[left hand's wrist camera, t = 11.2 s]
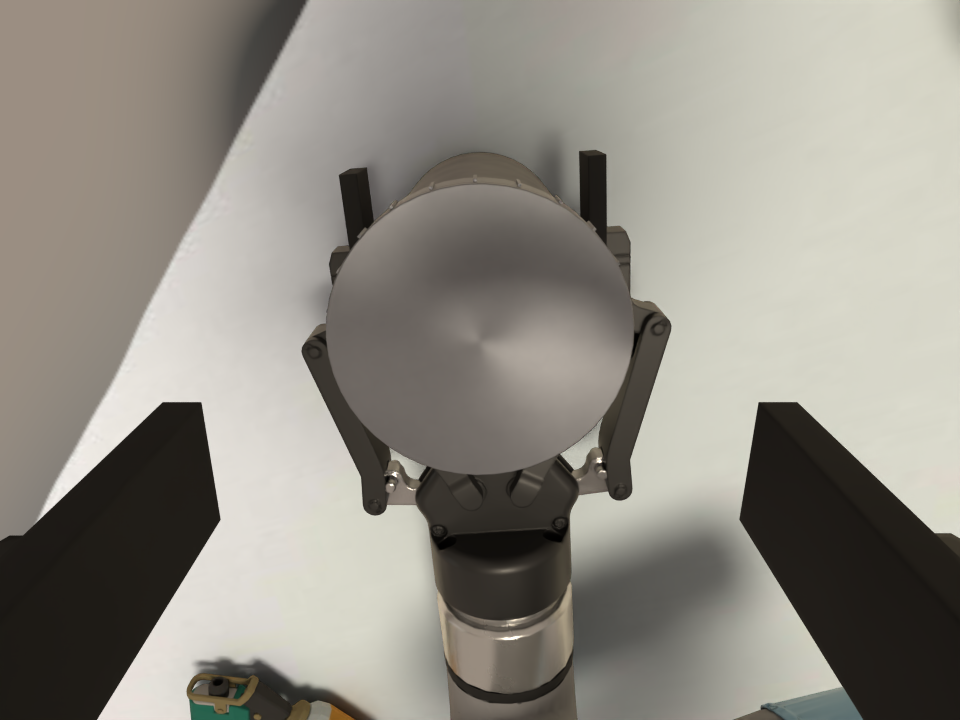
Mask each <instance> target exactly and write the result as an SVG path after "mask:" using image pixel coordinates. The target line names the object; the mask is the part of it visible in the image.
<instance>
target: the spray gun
mask: <svg viewBox="0 0 960 720" xmlns="http://www.w3.org/2000/svg"><path fill="white" fill-rule="evenodd" d="M200 680H210V681H211V682H210V683H209V684H202V685H200V686H198V687H196V688H195V689H193V687H194V685H195V684H196V683H197V682H198V681H200ZM258 681H259V679H258V678H257V677H256V676H254V675H252V676H250V677H249V678H248V679H246V678H238V677H230V676H222V675H214V674H206V673H202V674H198V675H196V676H194V677H193V678H192V680H191V681H190V683H189V685H188V687H187V696H188V698H189V701H190V712H191V720H355V719H353V718H352V717H350V716H349V715H347V714H345V713H344V712H342V711H341V710H339V709H338V708H336V707H335V706H333V705H331V704H330V703H326V702H322V701H318V700H317V701H315V702H312V703H309V702H307V701H306V700H300V701H298V702H297V703H296V704H295V705H293V706H291V705H290V704H289V703H288V702H287V701H286V700H285V699H283V698H282V697H281V696H279V695H278V694H277V693H275V692H274V691H273V690H271V689H270V688H269V687H267V686H266V685H265V684H263V683H262V682H261V681H259V682H258ZM236 684H243V685H248V686H247V687H246V688H245V686H243V685H239V686H238V688H236ZM192 689H193V690H192Z"/></svg>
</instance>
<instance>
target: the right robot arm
mask: <svg viewBox="0 0 960 720" xmlns="http://www.w3.org/2000/svg"><path fill="white" fill-rule="evenodd" d="M579 166H580V217H581V218H582V219H583V220H584V221H585V222H586V223H587V221H590V223H591V224H592V225H593V226H594V227H595V228H596V229H597V230H596V231H595V232H596V233H597V235H598V236H599V237H600V238H601V240H602V241H603V242H604V244H605V245H606V246H607V247H608V249H609V250H610V251H611V253H612V254H613V255H614V257H615V258H616V259H617V260H618V261H619V263H620V265H619V267H620V269H621V271H622V274H623V277H624V279H625V282H626V284H627V287H628V290H629V295H630V240H629V237H628V235H627V233H626V231H625V230H624V229H623V228H622V227H621V226H611V227H607V193H606V154H604V153H602V152H599V151H597V150H589V151H579ZM339 179H340V186H341V193H342V200H343V207H344V214H345V221H346V228H347V235H348V241H349V246H338V247H337V248H336V249H335V250H334V251H333V252H332V254H331V258H330V262H329V267H330V273H331V279H332V285H333V284H334V281H335V278H336V276H337V273H336V272H337V270H338V269H339V267H340V266H341V265H342V263H343V261H344V260H345V258H346V257H347V255H348V253H349V252H350V250H351V249H352V247H353V246H354V244H355V243H356V242H357V241H358V240H359V238H358V237H357V236H358V235H359V234H360V233H361V232H362V230H363V229H364V228H367V229H368V228H369V227H370V226H371V225H372V224H373V222H374V220H373V212H372V204H371V196H370V189H369V181H368V173H367V168H355V169H349V170H347V171H345V172H344V173H342V174H340V175H339ZM630 299H631V300H632V308H633V319H634V340H633V349H632V354H631V360H630V364H629V367H628V371H627V374H626V377H625V380H624V382H623V384H622V386H621V388H620V390H619V393H618V395H617V397H616V399H615V400H614V402H613V403H612V405H611V406H610V408H609V409H608V411H607V412H606V414H605V415H604V416H603V419H602V423H601V427H600V431H599V439H598V445H599V448H596V447H595V448H592V449H591V450H590V452H589V453H588V454H587V456H586V461H585V464H584V465H583V466H582V467H581V468H579V469H576V470H574V469H573V468H572V467H571V466H570V465H569V463H568V462H567V461H566V460H565V459H564V458H563V457H562V456H561V455H560V454H558V455H557V456H555V457H553V458H551V459H549V460H547V461H544V462H542V463H539V464H537V465H534V466H532V467H529V468H525V469H521V470H518V471H514V472H508V473H501V474H492V475H469V474H457V473H452V472H447V471H442V470H438V469H435V468H432V467H429V466H427V467H426V469H425V470H424V472H423V473H422V475H421V476H420V478H419V480H416V479H412V478H410V477H409V476H408V475H407V474H406V472H405V469H404V467H403V466H402V465H401V464H400V462H399V461H397V460H393V461H391V453H390V449H389V447H388V446H387V445H386V444H385V443H383V442H382V441H381V440H380V439H378V438H377V437H376V436H374V435H373V434H372V433H371V432H370V431H369V430H368V428H367V427H366V426H365V425H364V424H363V423H362V422H361V421H360V420H359V419H358V417H357V416H356V415H355V413H354V412H353V411H352V410H351V408H350V407H349V405H348V403H347V402H346V400H345V398H344V396H343V395H342V393H341V391H340V389H339V386H338V384H337V382H336V379H335V377H334V375H333V371H332V367H331V364H330V360H329V356H328V349H327V341H326V324H320V325H319V326H317V327H316V328H315V330H314V331H313V332H312V334H311V335H310V336H309V338H308V339H307V341H306V342H305V344H304V345H303V347H302V355H303V358H304V360H305V362H306V364H307V366H308V368H309V370H310V372H311V374H312V376H313V378H314V380H315V382H316V384H317V387H318V389H319V391H320V393H321V395H322V397H323V399H324V401H325V403H326V405H327V407H328V409H329V411H330V413H331V415H332V418H333V420H334V422H335V424H336V426H337V428H338V430H339V432H340V434H341V436H342V438H343V440H344V442H345V444H346V447H347V449H348V451H349V453H350V455H351V457H352V459H353V461H354V463H355V465H356V467H357V469H358V471H359V473H360V475H361V482H362V497H363V507H364V510H365V511H366V512H367V513H369V514H371V515H380V514H382V513H384V511H385V510H386V507H387V505H417V507H418V509H419V510H420V512H421V513H422V514H423V515H424V517H425V518H426V520H427V522H428V526H429V533H430V541H431V550H432V558H433V566H434V575H435V582H436V586H437V589H438V594H437V601H438V608H439V616H440V623H441V631H442V638H443V645H444V655H445V661H446V665H447V676H448V688H449V700H450V716H451V720H577V711H576V700H575V684H574V669H573V642H574V632H573V607H572V584H571V581H570V579H571V541H570V512H571V509H572V507H573V505H574V503H575V502H576V500H577V498H578V495H584V494H591V493H599V492H606V491H608V492H609V495H610V496H611V497H612V498H613V499H615V500H625V499H627V498H628V497H629V496H630V495H631V493H632V478H631V466H630V458H631V455H632V452H633V449H634V446H635V442H636V439H637V436H638V433H639V430H640V427H641V424H642V420H643V417H644V414H645V411H646V408H647V405H648V401H649V398H650V395H651V392H652V389H653V386H654V383H655V379H656V376H657V373H658V370H659V367H660V364H661V360H662V357H663V354H664V351H665V348H666V345H667V341H668V338H669V335H670V332H671V323H670V321H669V320H668V319H667V317H666V316H665V315H664V314H663V313H662V311H661V310H660V309H659V308H658V307H657V306H656V305H655V304H654V303H653V302H650V301H644V302H643V301H639V300H635V299H633V298H631V296H630ZM734 720H863V719H862V717H861V715H860V714H859V712H858V711H857V709H856V707H855V706H854V704H853V703H852V701H851V699H850V698H849V696H848V694H847V693H846V691H845V690H844V688H843V687H841V688H836V689H832V690H828V691H823V692H819V693H815V694H811V695H807V696H803V697H799V698H794V699H790V700H786V701H782V702H778V703H767V704H764V705H761V710H759V711H756V712H754V713H751V714H748V715H745V716H742V717H739V718H737V719H734Z"/></svg>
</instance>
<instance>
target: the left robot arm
mask: <svg viewBox="0 0 960 720" xmlns="http://www.w3.org/2000/svg"><path fill="white" fill-rule="evenodd" d="M220 520H221V519H220V513H219V507H218V501H217V495H216V489H215V483H214V477H213V471H212V465H211V458H210V452H209V446H208V440H207V434H206V428H205V422H204V416H203V410H202V404H201V402H163V403H162V404H161V405H159V406H158V407H157V408H156V409H155V410H154V411H153V412H152V413H151V414H150V415H149V416H148V417H147V418H146V419H145V420H144V421H143V422H142V423H141V424H140V425H139V426H137V427H136V428H135V429H134V430H133V431H132V432H131V433H130V434H129V435H128V436H127V437H126V438H125V439H124V440H123V441H122V442H121V443H120V444H119V445H118V446H116V447H115V448H114V449H113V450H112V451H111V452H110V453H109V454H108V455H107V456H106V457H105V458H104V459H103V460H102V461H101V462H100V463H99V464H98V465H97V466H96V467H94V468H93V469H92V470H91V471H90V472H89V473H88V474H87V475H86V476H85V477H84V478H83V479H82V480H81V481H80V482H79V483H78V484H77V485H76V486H75V487H73V488H72V489H71V490H70V491H69V492H68V493H67V494H66V495H65V496H64V497H63V498H62V499H61V500H60V501H59V502H58V503H57V504H56V505H55V506H54V507H53V508H51V509H50V510H49V511H48V512H47V513H46V514H45V515H44V516H43V517H42V518H41V519H40V520H39V521H38V522H37V523H36V524H35V525H34V526H33V527H32V528H31V529H29V530H28V531H27V532H26V533H25V534H24V535H23V536H8V537H7V538H5V539H3V540H1V541H0V720H97V719H98V717H99V715H100V714H101V712H102V711H103V709H104V707H105V706H106V704H107V703H108V701H109V699H110V698H111V696H112V694H113V693H114V691H115V690H116V688H117V686H118V685H119V683H120V682H121V680H122V678H123V677H124V675H125V673H126V672H127V670H128V669H129V667H130V665H131V664H132V662H133V660H134V659H135V657H136V656H137V654H138V652H139V651H140V649H141V648H142V646H143V644H144V643H145V641H146V639H147V638H148V636H149V635H150V633H151V631H152V630H153V628H154V626H155V625H156V623H157V622H158V620H159V618H160V617H161V615H162V614H163V612H164V610H165V609H166V607H167V605H168V604H169V602H170V601H171V599H172V597H173V596H174V594H175V593H176V591H177V589H178V588H179V586H180V584H181V583H182V581H183V580H184V578H185V576H186V575H187V573H188V571H189V570H190V568H191V567H192V565H193V563H194V562H195V560H196V559H197V557H198V555H199V554H200V552H201V550H202V549H203V547H204V546H205V544H206V542H207V541H208V539H209V538H210V536H211V534H212V533H213V531H214V529H215V528H216V526H217V525H218V523H219V521H220ZM739 520H740V521H741V523H742V525H743V526H744V528H745V529H746V531H747V533H748V534H749V536H750V538H751V539H752V541H753V542H754V544H755V546H756V547H757V549H758V550H759V552H760V554H761V555H762V557H763V559H764V560H765V562H766V563H767V565H768V567H769V568H770V570H771V571H772V573H773V575H774V576H775V578H776V580H777V581H778V583H779V584H780V586H781V588H782V589H783V591H784V593H785V594H786V596H787V597H788V599H789V601H790V602H791V604H792V605H793V607H794V609H795V610H796V612H797V614H798V615H799V617H800V618H801V620H802V622H803V623H804V625H805V626H806V628H807V630H808V631H809V633H810V635H811V636H812V638H813V639H814V641H815V643H816V644H817V646H818V648H819V649H820V651H821V652H822V654H823V656H824V657H825V659H826V660H827V662H828V664H829V665H830V667H831V669H832V670H833V672H834V673H835V675H836V677H837V678H838V680H839V682H840V683H841V685H842V686H843V688H844V690H845V691H846V693H847V694H848V696H849V698H850V699H851V701H852V703H853V704H854V706H855V707H856V709H857V711H858V712H859V714H860V715H861V717H862V719H863V720H960V538H958V537H956V536H955V535H953V534H951V533H934V532H933V531H932V530H931V529H930V528H928V527H927V526H926V525H925V524H924V523H923V522H922V521H921V520H920V519H919V518H918V517H917V516H916V515H915V514H914V513H913V512H912V511H911V510H910V509H909V508H907V507H906V506H905V505H904V504H903V503H902V502H901V501H900V500H899V499H898V498H897V497H896V496H895V495H894V494H893V493H892V492H891V491H890V490H889V489H888V488H887V487H885V486H884V485H883V484H882V483H881V482H880V481H879V480H878V479H877V478H876V477H875V476H874V475H873V474H872V473H871V472H870V471H869V470H868V469H867V468H866V467H864V466H863V465H862V464H861V463H860V462H859V461H858V460H857V459H856V458H855V457H854V456H853V455H852V454H851V453H850V452H849V451H848V450H847V449H846V448H845V447H844V446H842V445H841V444H840V443H839V442H838V441H837V440H836V439H835V438H834V437H833V436H832V435H831V434H830V433H829V432H828V431H827V430H826V429H825V428H824V427H823V426H821V425H820V424H819V423H818V422H817V421H816V420H815V419H814V418H813V417H812V416H811V415H810V414H809V413H808V412H807V411H806V410H805V409H804V408H803V407H802V406H801V405H799V404H798V403H797V402H759V404H758V410H757V416H756V422H755V428H754V434H753V440H752V446H751V452H750V458H749V465H748V471H747V477H746V483H745V489H744V495H743V501H742V507H741V513H740V519H739Z"/></svg>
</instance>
